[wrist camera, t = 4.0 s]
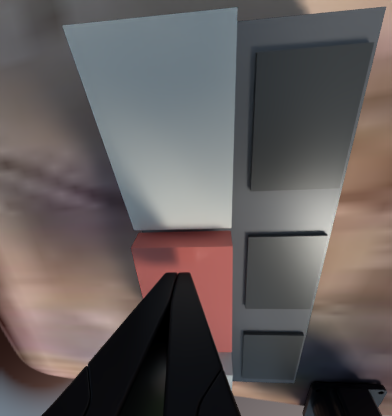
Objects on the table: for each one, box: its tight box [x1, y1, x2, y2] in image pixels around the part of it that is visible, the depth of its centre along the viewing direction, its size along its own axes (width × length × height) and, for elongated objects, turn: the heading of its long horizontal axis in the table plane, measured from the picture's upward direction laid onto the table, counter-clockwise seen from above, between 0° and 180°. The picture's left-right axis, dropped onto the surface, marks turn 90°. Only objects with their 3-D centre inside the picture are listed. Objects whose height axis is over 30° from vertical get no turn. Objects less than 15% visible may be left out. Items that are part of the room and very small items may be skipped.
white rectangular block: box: [62, 7, 238, 230], centre depth 7 cm, size 6×4×1 cm, turn 3°
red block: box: [131, 231, 233, 352], centre depth 10 cm, size 6×4×1 cm, turn 4°
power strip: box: [142, 7, 386, 383], centre depth 12 cm, size 19×8×5 cm, turn 4°
